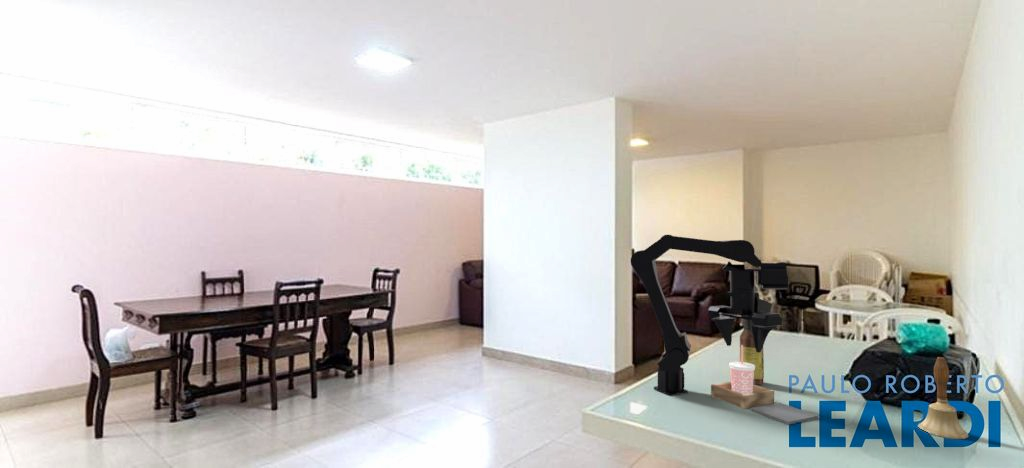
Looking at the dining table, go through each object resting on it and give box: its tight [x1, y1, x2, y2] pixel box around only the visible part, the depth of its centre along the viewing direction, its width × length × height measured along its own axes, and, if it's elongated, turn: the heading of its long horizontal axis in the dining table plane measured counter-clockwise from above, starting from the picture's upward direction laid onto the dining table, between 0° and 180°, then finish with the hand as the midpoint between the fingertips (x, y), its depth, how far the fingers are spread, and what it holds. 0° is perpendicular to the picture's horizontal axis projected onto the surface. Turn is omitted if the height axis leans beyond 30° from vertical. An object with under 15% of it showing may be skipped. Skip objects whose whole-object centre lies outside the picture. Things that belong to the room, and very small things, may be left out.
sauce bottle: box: [738, 316, 765, 386], centre depth 145 cm, size 7×6×20 cm
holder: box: [710, 381, 775, 409], centre depth 130 cm, size 10×10×3 cm
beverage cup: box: [728, 345, 755, 394], centre depth 130 cm, size 6×6×14 cm
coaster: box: [750, 402, 819, 425], centre depth 119 cm, size 10×10×1 cm
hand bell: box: [917, 356, 969, 440], centre depth 109 cm, size 8×8×16 cm
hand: (743, 348), depth 130 cm, fingers open, 9 cm apart
